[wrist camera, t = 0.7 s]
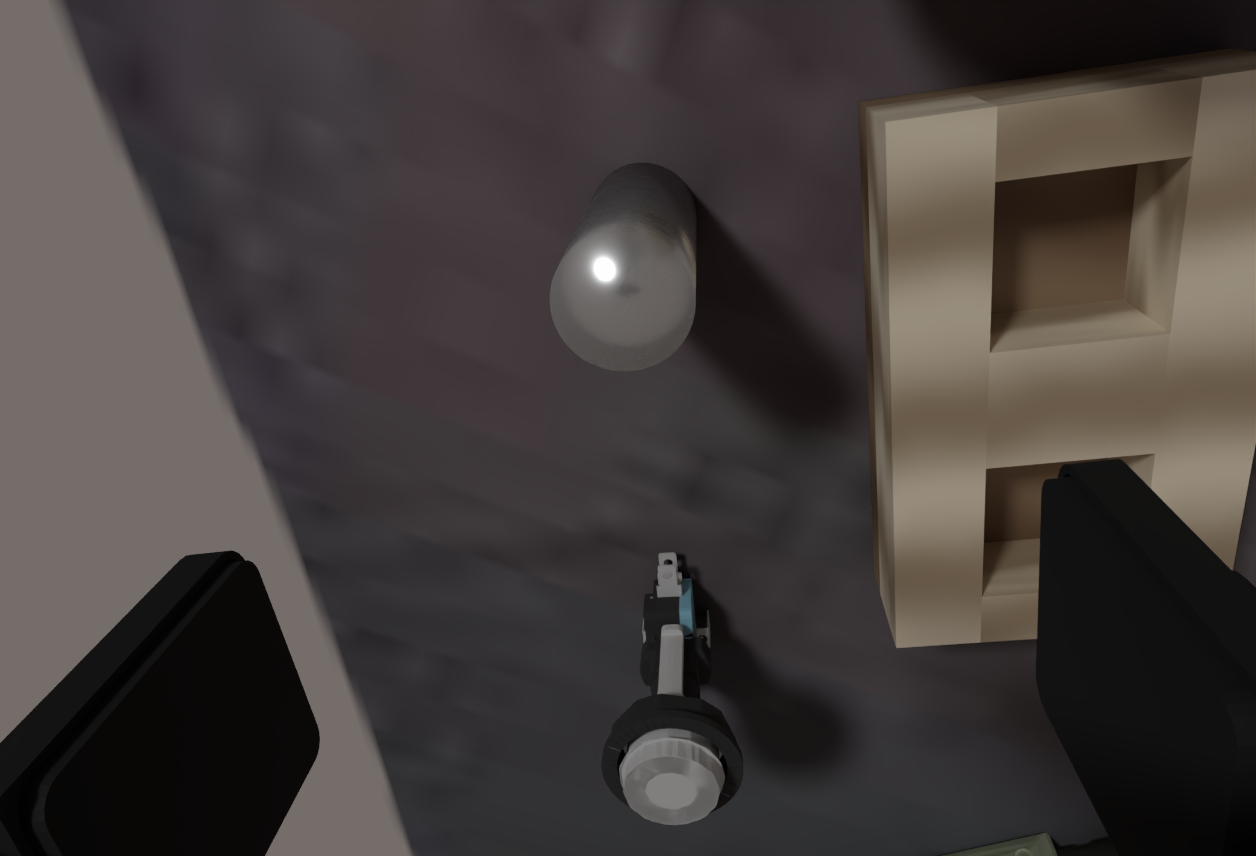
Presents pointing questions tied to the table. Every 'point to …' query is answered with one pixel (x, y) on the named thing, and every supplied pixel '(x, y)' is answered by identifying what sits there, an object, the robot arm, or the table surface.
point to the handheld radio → (1039, 848)
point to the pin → (629, 271)
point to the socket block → (1053, 319)
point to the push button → (673, 717)
